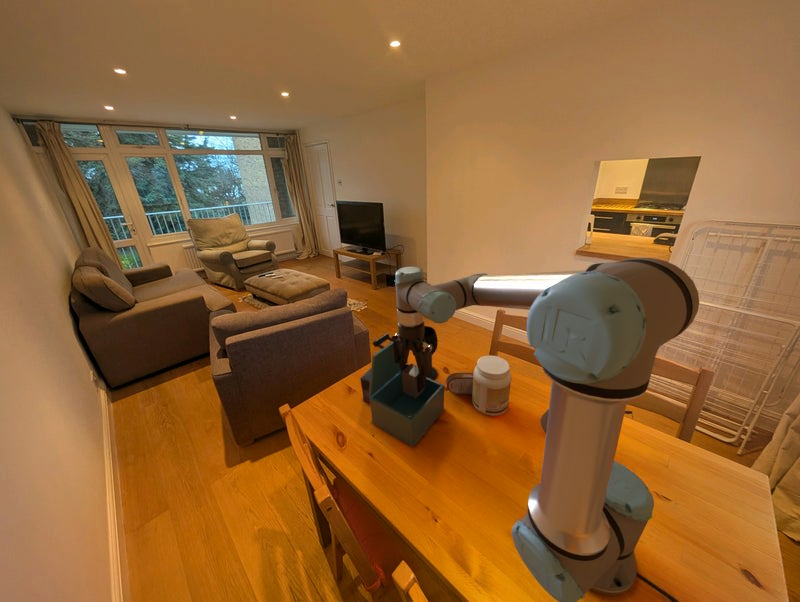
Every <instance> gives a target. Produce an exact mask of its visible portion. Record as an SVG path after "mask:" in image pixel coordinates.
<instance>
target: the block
mask: <svg viewBox="0 0 800 602" xmlns="http://www.w3.org/2000/svg"><path fill="white" fill-rule="evenodd" d="M418 373H419V371H418V367H417V364H413V363H410V364H409V366H408V367H407V368H405V369H404V370H403V371H402V384H403V392H404V393H406V394H408V395H410V396H412V397H414V398H417V396H418V395H419V394H420V393H421V392H422V391H423V390H424V389H425V388H424V389H423V390H422V391H421V392H420V393H419V392H418V384H417V374H418ZM424 386H425V383H424Z"/></svg>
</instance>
